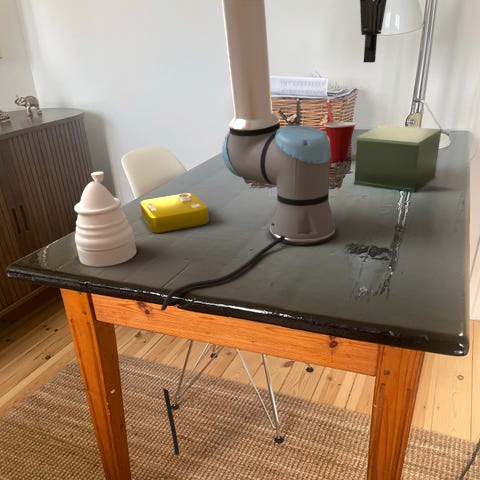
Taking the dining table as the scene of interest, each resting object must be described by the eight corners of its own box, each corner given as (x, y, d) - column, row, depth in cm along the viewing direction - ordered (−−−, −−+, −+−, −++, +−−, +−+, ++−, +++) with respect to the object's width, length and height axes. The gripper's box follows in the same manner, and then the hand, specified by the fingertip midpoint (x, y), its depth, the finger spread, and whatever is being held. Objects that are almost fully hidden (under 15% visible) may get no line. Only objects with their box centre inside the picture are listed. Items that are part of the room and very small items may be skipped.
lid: (418, 145, 134) (418, 142, 134) (355, 139, 144) (355, 137, 143) (441, 132, 146) (441, 129, 145) (381, 127, 155) (381, 125, 155)
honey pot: (101, 241, 123) (85, 166, 114) (147, 246, 119) (134, 168, 110) (67, 263, 113) (47, 183, 104) (116, 269, 109) (99, 186, 100)
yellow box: (141, 216, 137) (138, 199, 135) (194, 206, 141) (192, 189, 139) (153, 234, 125) (150, 216, 123) (211, 223, 129) (209, 205, 127)
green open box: (413, 192, 141) (419, 145, 135) (354, 183, 151) (356, 139, 144) (434, 177, 152) (441, 132, 146) (377, 170, 162) (381, 128, 155)
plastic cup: (352, 154, 180) (354, 118, 174) (355, 162, 171) (358, 125, 165) (321, 155, 182) (322, 120, 175) (323, 163, 172) (324, 126, 166)
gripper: (374, -42, 133) (367, 59, 145) (350, -43, 124) (345, 64, 136) (401, -45, 129) (392, 59, 141) (379, -47, 120) (371, 64, 132)
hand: (369, 62), depth 139 cm, fingers closed
